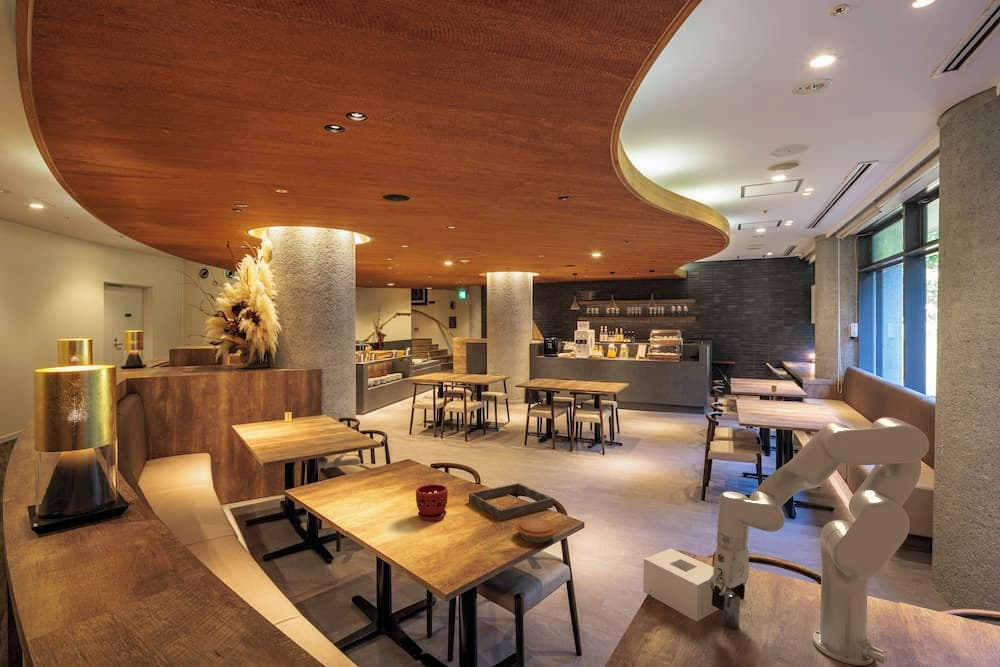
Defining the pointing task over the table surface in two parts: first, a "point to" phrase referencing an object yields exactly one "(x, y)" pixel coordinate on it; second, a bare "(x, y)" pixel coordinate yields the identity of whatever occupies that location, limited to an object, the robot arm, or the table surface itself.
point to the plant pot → (431, 502)
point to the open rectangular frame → (540, 504)
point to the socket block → (680, 583)
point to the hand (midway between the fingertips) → (728, 602)
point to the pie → (536, 530)
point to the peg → (731, 610)
